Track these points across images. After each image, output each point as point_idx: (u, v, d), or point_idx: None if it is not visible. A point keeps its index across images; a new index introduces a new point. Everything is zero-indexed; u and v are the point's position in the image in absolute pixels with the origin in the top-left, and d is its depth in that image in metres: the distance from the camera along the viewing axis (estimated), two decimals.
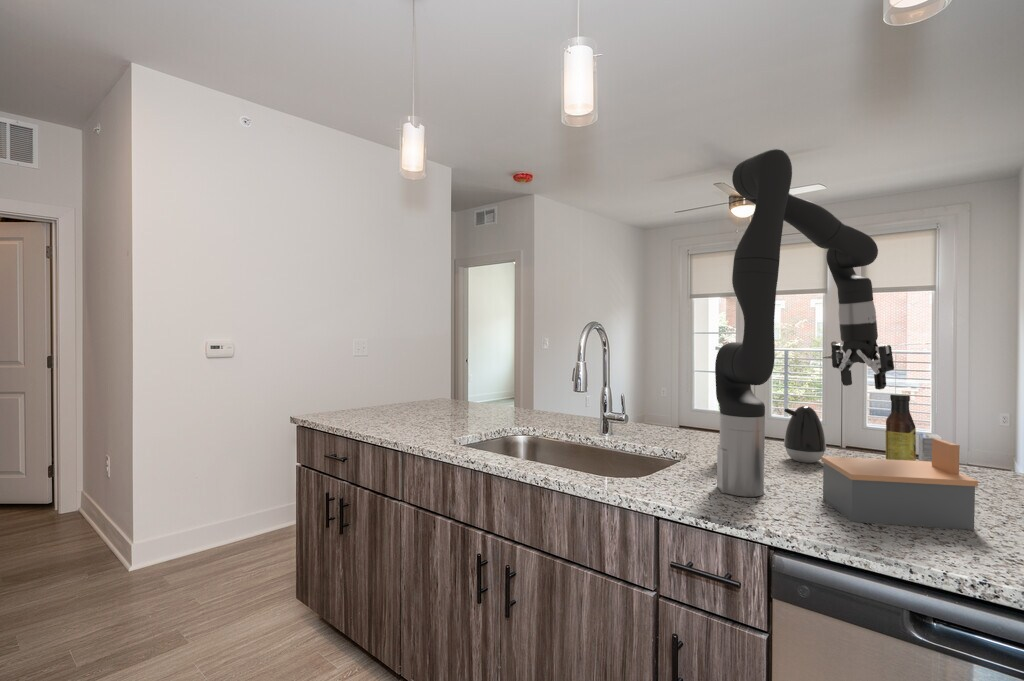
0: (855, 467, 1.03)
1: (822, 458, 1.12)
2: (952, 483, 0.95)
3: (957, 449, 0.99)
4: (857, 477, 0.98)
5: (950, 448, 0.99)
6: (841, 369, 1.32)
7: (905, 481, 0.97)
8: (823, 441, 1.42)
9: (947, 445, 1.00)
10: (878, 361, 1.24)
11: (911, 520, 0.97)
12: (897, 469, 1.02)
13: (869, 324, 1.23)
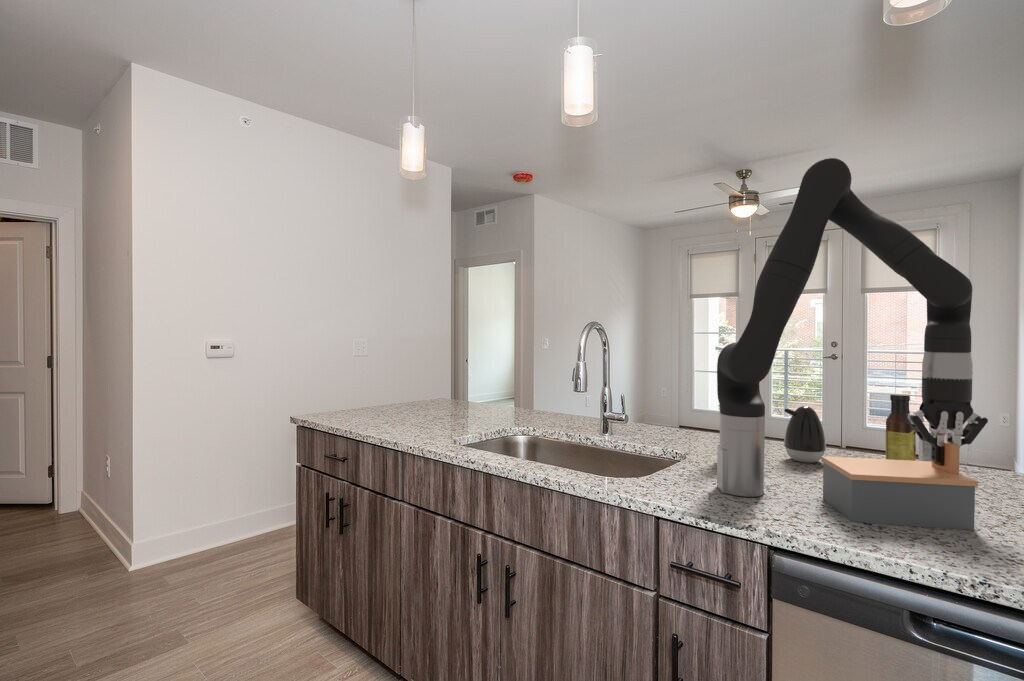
0: (855, 467, 1.03)
1: (822, 458, 1.12)
2: (952, 483, 0.95)
3: (957, 449, 0.99)
4: (857, 477, 0.98)
5: (950, 448, 0.99)
6: None
7: (905, 481, 0.97)
8: (823, 441, 1.42)
9: (947, 445, 1.00)
10: (935, 431, 1.02)
11: (911, 520, 0.97)
12: (897, 469, 1.02)
13: (922, 379, 1.03)
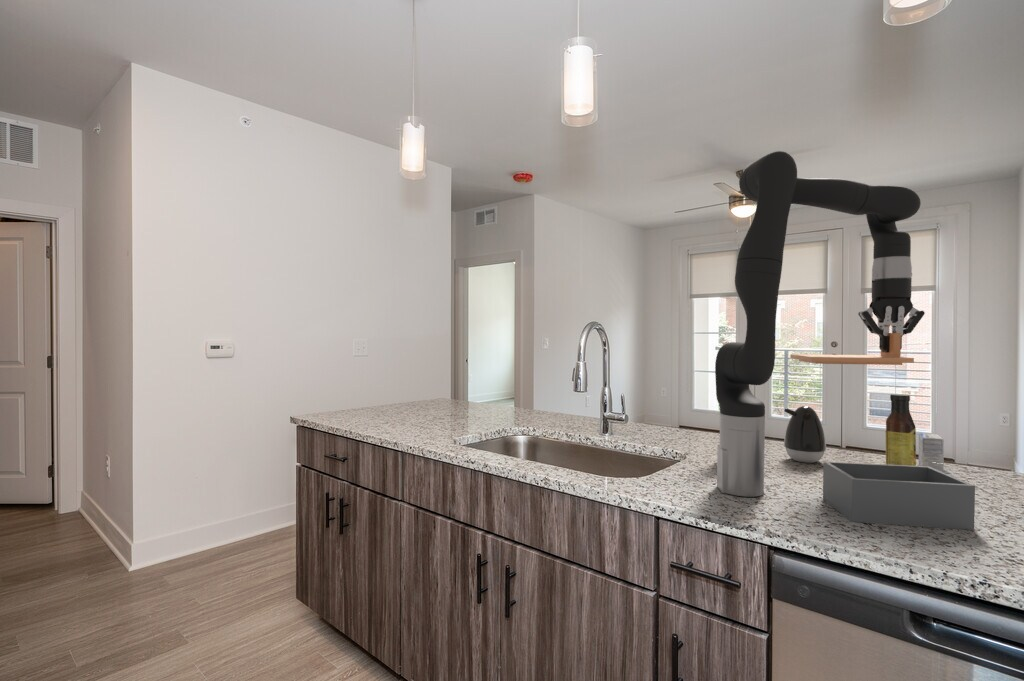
0: None
1: (791, 355, 1.33)
2: (893, 361, 1.16)
3: (899, 336, 1.20)
4: (816, 359, 1.19)
5: (893, 336, 1.20)
6: None
7: (855, 361, 1.18)
8: (823, 441, 1.42)
9: (891, 334, 1.21)
10: (882, 324, 1.22)
11: (911, 520, 0.97)
12: (850, 356, 1.23)
13: (872, 281, 1.24)
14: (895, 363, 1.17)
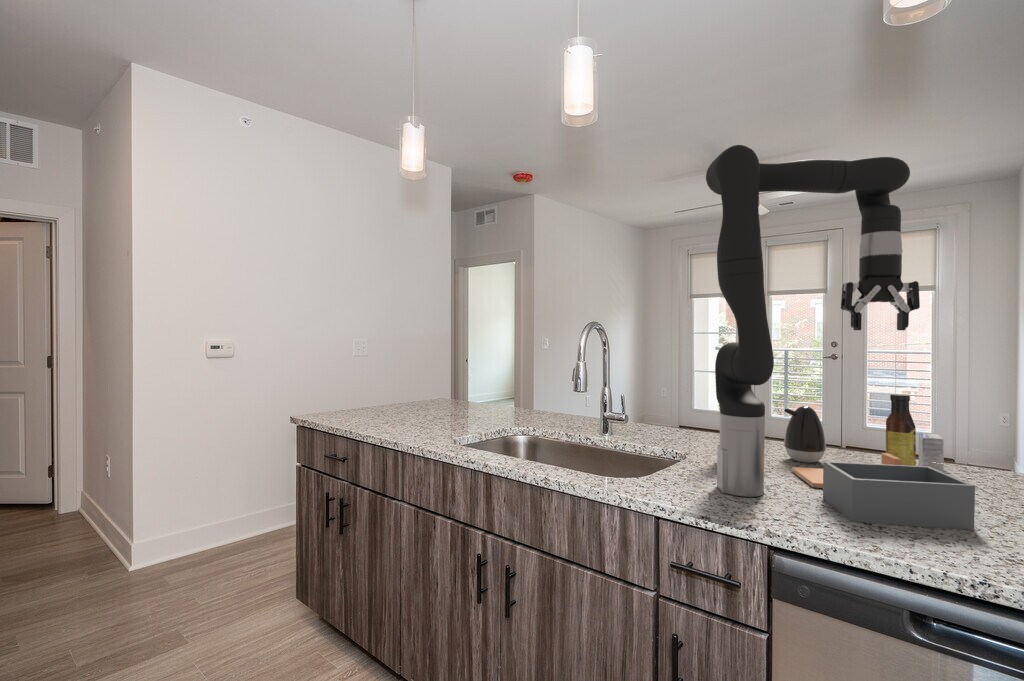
0: (817, 477, 1.25)
1: (792, 468, 1.34)
2: None
3: (899, 462, 1.20)
4: (817, 485, 1.20)
5: (894, 461, 1.21)
6: None
7: None
8: (823, 441, 1.42)
9: (892, 459, 1.22)
10: (860, 300, 1.14)
11: (911, 520, 0.97)
12: None
13: (859, 259, 1.15)
14: None
